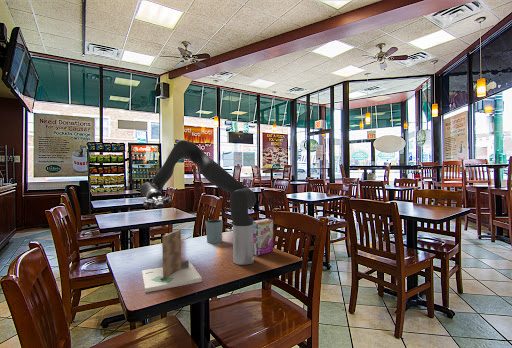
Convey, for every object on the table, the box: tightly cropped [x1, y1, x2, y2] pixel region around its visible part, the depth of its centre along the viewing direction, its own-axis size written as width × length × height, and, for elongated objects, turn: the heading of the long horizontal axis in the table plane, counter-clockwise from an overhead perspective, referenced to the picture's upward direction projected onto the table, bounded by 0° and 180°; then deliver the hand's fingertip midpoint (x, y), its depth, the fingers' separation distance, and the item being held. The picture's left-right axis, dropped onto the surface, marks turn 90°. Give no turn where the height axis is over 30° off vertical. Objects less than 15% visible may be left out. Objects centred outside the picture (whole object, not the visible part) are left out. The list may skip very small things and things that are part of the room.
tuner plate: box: [141, 262, 203, 294], centre depth 111 cm, size 20×18×2 cm
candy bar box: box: [253, 218, 274, 257], centre depth 141 cm, size 11×5×16 cm, turn 131°
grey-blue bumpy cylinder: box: [205, 219, 224, 245], centre depth 163 cm, size 10×10×12 cm
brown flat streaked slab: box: [160, 229, 190, 280], centre depth 112 cm, size 17×4×16 cm, turn 163°
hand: (160, 206), depth 123 cm, fingers closed
